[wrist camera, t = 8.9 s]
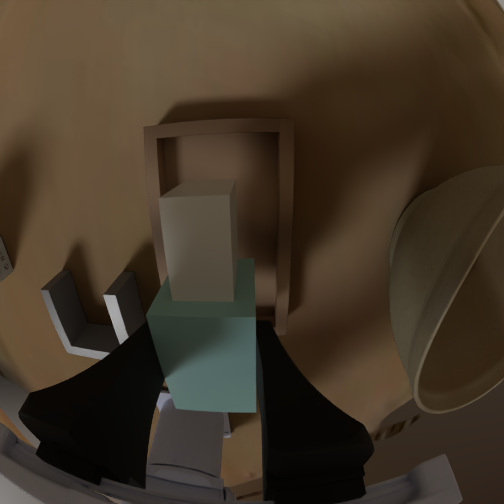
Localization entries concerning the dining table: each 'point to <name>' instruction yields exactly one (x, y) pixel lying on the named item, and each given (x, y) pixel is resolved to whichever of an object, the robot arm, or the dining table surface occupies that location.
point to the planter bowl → (451, 290)
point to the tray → (247, 192)
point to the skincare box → (4, 262)
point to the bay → (86, 334)
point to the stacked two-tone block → (205, 301)
